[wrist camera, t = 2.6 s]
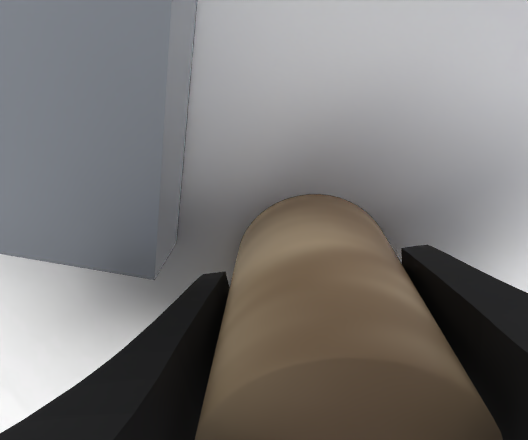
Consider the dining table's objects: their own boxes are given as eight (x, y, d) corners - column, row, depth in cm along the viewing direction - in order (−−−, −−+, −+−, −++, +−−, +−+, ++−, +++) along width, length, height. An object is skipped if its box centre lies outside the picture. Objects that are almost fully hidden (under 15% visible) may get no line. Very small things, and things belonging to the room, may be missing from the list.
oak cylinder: (409, 209, 10) (567, 389, 4) (365, 336, 12) (438, 579, 6) (249, 181, 10) (209, 330, 4) (228, 313, 12) (179, 540, 6)
